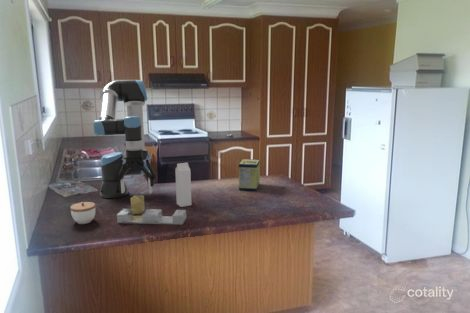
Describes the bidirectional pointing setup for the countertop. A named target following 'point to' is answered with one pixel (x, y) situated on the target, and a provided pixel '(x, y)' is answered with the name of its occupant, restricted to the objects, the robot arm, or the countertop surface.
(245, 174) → the protein box
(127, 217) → the rail
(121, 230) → the countertop surface
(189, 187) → the milk
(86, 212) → the lidded jar
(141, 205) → the nut block
